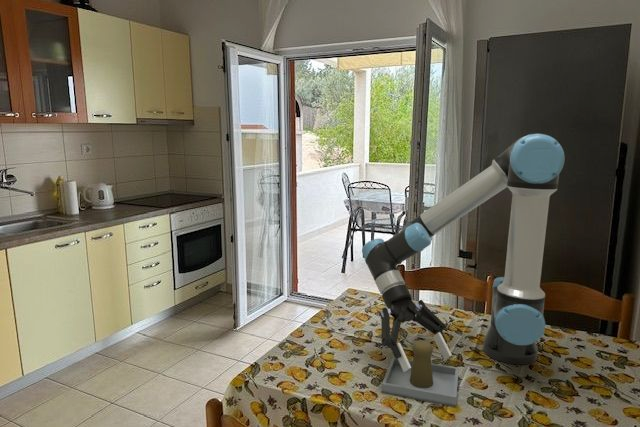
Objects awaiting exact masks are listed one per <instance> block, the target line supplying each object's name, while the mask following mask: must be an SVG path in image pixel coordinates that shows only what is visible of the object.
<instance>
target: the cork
mask: <svg viewBox="0 0 640 427" xmlns="http://www.w3.org/2000/svg"><path fill="white" fill-rule="evenodd" d="M411 348H412V349H411V350H412V353H413V358H412V360H413V364H412V370H411V376H410V383H411V384H412V385H413V386H415V387H418V388H429V387H431V386H432V385H433V376H432V366H431V363H432V358H431V356H432V354H433V351H434V347H433V345H432V344H431V343H430V342H429V341H427V340H424V339H423V340H416V341H415V342H413V344H412V347H411Z"/></svg>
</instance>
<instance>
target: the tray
mask: <svg viewBox="0 0 640 427" xmlns="http://www.w3.org/2000/svg"><path fill="white" fill-rule="evenodd" d="M408 361H409V364H410V366H411V368H410V369H409V370H407V371H406V372H403V369H402V367H401V365H400V363H399V360H398V359H396V358H395V357H394V356H392V357H391V359H390V362H389V366H388V367H387V370H386V372H385V374H384V377H383V380H382V382H381V394H385V395H391V396H394V397H395V396H396V397H401V398H405V399H406V398H407V399H412V400H417V401H423V402H428V403H433V404H439V405H443V406H447V407H448V406H449V407H453V408H456V407H457V397H458V384H459V370H460V368H459V367H457V366H456V367H455V366H452V365H451V366H450V365H443V364H438V363H434V362H433V363H432V362H431V366H432V376H433V385H432V386H431V387H429V388H418V387H415V386H413V385H412V384H411V383H410V376H411V370H412V364H413V359H408Z"/></svg>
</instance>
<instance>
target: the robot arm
mask: <svg viewBox="0 0 640 427" xmlns="http://www.w3.org/2000/svg"><path fill="white" fill-rule="evenodd" d="M565 157H566V156H565V151H564V149H563V147H562V145H561V144H560V143H559V142H558V140H557V139H555V138H554V137H552V136H550V135H548V134H545V133H530V134H527V135H523V136H520V137H518V139H516V140H515V141H514V142H513V143H512V144H511V145H509V147H507V148H506V149H505V150H504V151H502V152H501V153H500V154H499V155H498V156H497V157H495V158H493V160H492V161H491V165H490V166H488V167H487V168H485V169H484V170H482V172H479V173H478V174H477V175H475V176H474V177H471V179H470V180H468V181H467V182H466V183H463V184H462V185H461V186H460V187H458V188H457V189H456V190H455V189H454V190H453V191H452V192H451V193H449V194H448V195H447V196H445V197H444V198H442V199H441V200H439V201H437V203H435V204H434V205H432V206H431V207H428V209H426V210H425V211H424V212H422V213H421V214H419V215H417V216H416V217H415V218H413V219H412V220H409V221H407V222H406V223H405V224H404V225H403V227H402V229H401V230H400V231H399V232H398V233H396V234H395V235H394V236H392V237H390V238H389V239H388V240H385V241H384V239H382V238H374V239H372V240H369V241H368V242H366V243H364V245H363V246H362V248H361V253H362V256H363V258H364V262H365V264H366V265H367V268H368V270H369V271H370V274H371V276H372V278H373V280H374V283H375V285H376V287H377V289H378V292H379V293H380V295H381V298H382V300H383V302H384V305H385V307H383V308H382V309H381V310H380V311H379V316H380V317H379V318H380V319H381V325H380V326H381V331H380V332H381V334H380V335H381V336H380V338H381V346H382V347H387V349H390V350H391V352H392V354H393V357H395V358H396V359H398V360H399V363H400V365H401V367H402V369H403V372H406V371H407V370H409V369H410V368H411V366H410V364H409V361H408V360H409V359H408V357H407V355H406V353H405V351H404V349H403V346H402V345H401V342H398V340H399V339H398V337H399V334H400V329H401V324H404V323H407V322H411V321H412V322H414V323H417V324H419V325H420V326H422V327H423V328H425V329H426V330H427V331H429V332H430V333H431V334H433V336H432V338H433V340H434V342H435V343H436V346H437V348H438V350H439V352H440V354H441V356H442V358H443V360H447V359H449V358H450V357H451V356H452V355H453V354H452V352H451V350H450V349H449V347H448V341H447V339H446V337H445V335H444V333H443V331H444V330H445V329H446V328H447V326H446V324H445V323H444V322H443V321H442V320H441V319H440V318H439V317H438V316H437V315H436V314H435V313H434V312H432V310H430V308H428V307H427V306H426V304H425V302H424V301H423V300H422V299H419V300H418V301H416V302H414V301H413V300H412V294H411V292H410V290H409V288H408V286H407V285H405V284H406V282H405V280H404V278H403V276H402V274H401V272H400V270H399V268H398V265H399V264H402V263H403V262H405V261H407V260H408V259H410V258H411V257H412V256H415V255H417V254H418V253H420V252H423V251H424V250H425V249H427V248H428V247H429V246H430V245H431V243H432V240H431V238H433V237H434V236H435V235H437V234H438V233H439V232H441V231H443V230H444V229H446V228H448V227H449V226H450V225H451V224H454V223H455V222H456V221H458V220H460V219H461V218H462V217H464V216H465V215H467V214H468V213H470V212H471V211H473V210H474V209H476V208H478V207H479V206H480V205H482V204H484V203H485V202H487V201H488V200H489V199H491V198H492V197H494V196H495V195H497V194H498V193H500V192H502V191H503V190H505V189H507V188H508V190H509V191H510V192H511V195H512V198H511V207H510V218H509V227H508V228H509V229H508V236H507V249H506V260H505V268H504V276H499V277H496V278H495V279H494V280H493V283H492V284H493V285H492V286H491V287H492V295H491V297H492V298H491V311H490V313H491V314H490V325H489V328H488V330H487V333H486V335H485V337H484V339H483V342H482V344H483V345H482V350H483V352H484V353H485V354H486V355H487V356H488V357H490V358H492V359H494V360H496V361H499V362H503V363H504V364H505V363H506V364H510V365H529V364H532V363H535V362H536V361H537V360H538V353H539V352H538V351H539V350H538V346H537V343H536V342H538V341H539V340H540V339H541V338H542V336H544V334H545V332H546V331H545V330H546V320H545V319H546V318H545V317H544V310H545V309H544V308H545V301H546V293H545V291H543V289H542V288H541V287H540V286H541V278H542V268H543V262H544V261H543V260H544V259H543V258H544V251H545V250H544V249H545V241H546V235H547V234H546V233H547V232H546V231H547V224H548V214H549V206H550V199H551V198H550V197H551V195H553V194H554V193H555V192H557V191H558V187H559V179H560V173H561V172H562V170H563V168H564V164H565V159H566V158H565ZM390 316H391V317H393V319H392V328H390V327H391V323H390V320H391V319H390Z"/></svg>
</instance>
